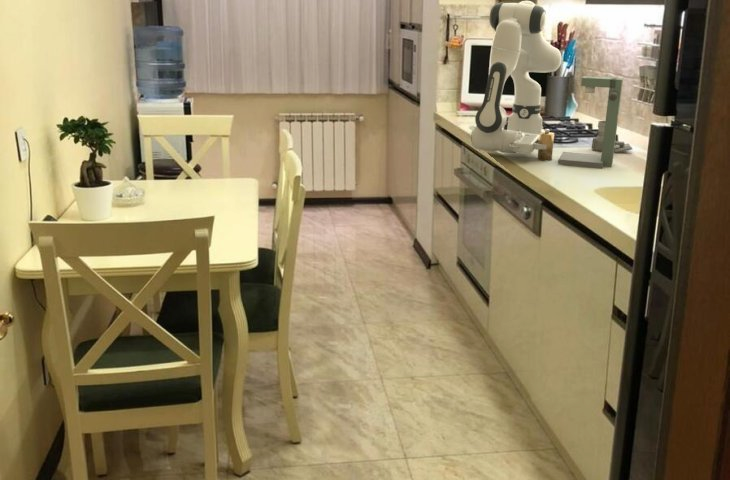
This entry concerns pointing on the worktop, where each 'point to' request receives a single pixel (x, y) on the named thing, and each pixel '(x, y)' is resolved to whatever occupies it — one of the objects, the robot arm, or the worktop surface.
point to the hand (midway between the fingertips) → (548, 145)
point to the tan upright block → (547, 139)
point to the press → (610, 125)
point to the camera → (598, 141)
